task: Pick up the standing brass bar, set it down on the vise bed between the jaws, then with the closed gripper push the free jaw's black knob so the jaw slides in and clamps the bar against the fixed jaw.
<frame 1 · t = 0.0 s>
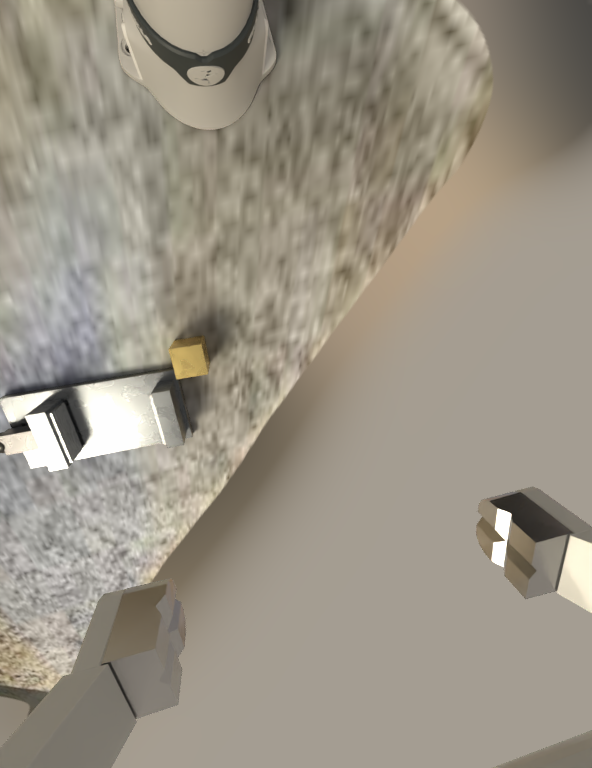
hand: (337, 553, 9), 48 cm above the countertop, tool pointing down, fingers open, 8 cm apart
vise: (121, 412, 55), on the countertop
jaw: (29, 439, 49), point 4 cm above the countertop, slide at 0.0 cm
block: (192, 351, 54), on the countertop
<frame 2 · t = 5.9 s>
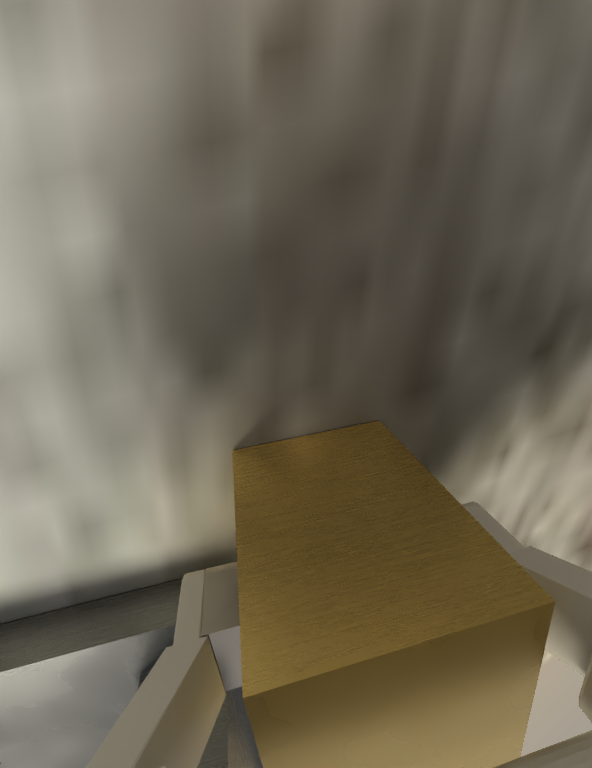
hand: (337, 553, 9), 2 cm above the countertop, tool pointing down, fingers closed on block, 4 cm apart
block: (315, 496, 11), on the countertop, touching gripper
when the fingers open (5 cm above the countertop, at t = 10.7 s): block stays where it is, resting on vise.
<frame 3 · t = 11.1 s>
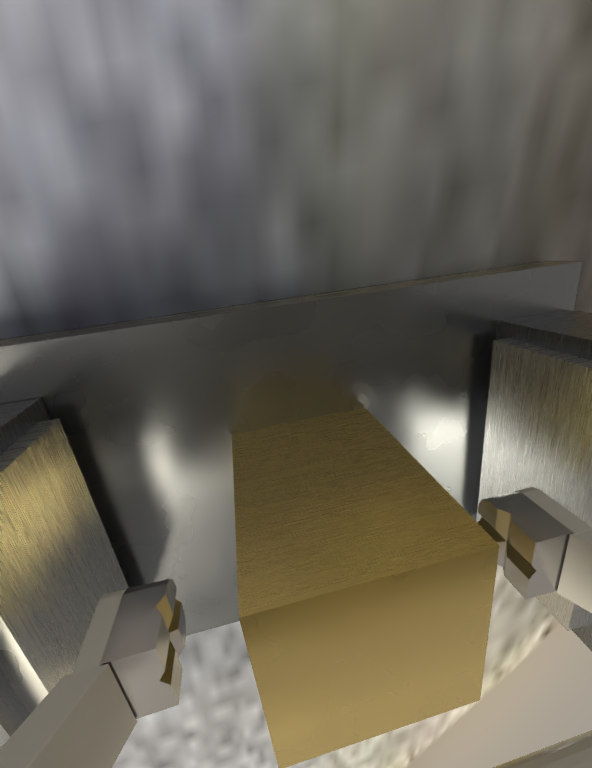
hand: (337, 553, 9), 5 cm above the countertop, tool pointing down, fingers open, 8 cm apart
vise: (298, 455, 13), on the countertop
block: (307, 477, 12), point 1 cm above the countertop, touching vise
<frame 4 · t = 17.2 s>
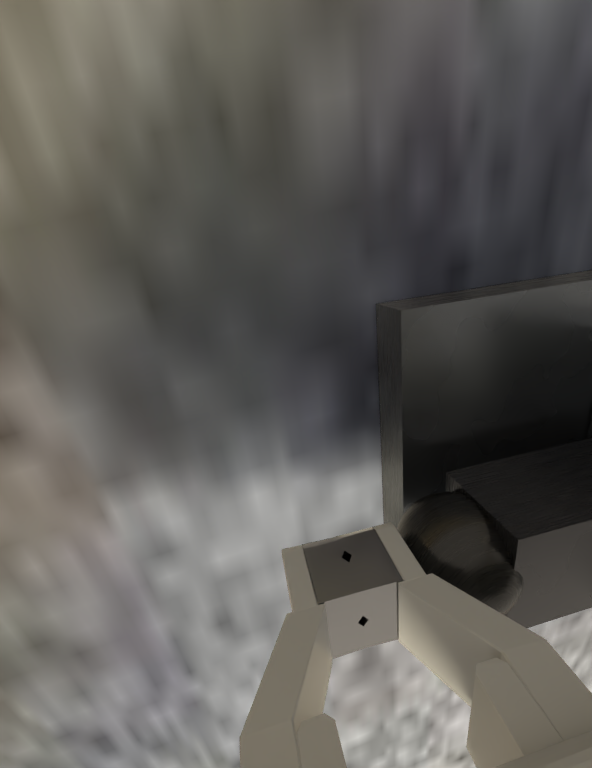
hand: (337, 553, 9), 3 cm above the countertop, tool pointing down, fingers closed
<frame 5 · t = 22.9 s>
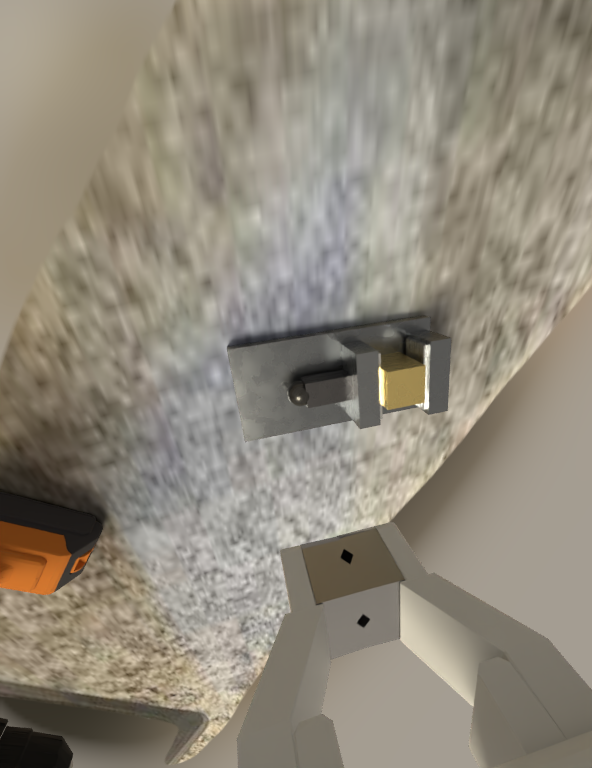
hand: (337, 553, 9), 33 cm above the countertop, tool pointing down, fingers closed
vise: (351, 372, 44), on the countertop
jaw: (332, 389, 40), point 4 cm above the countertop, slide at 7.9 cm, touching block
block: (382, 371, 43), point 1 cm above the countertop, touching jaw, vise
power drill: (61, 528, 43), on the countertop
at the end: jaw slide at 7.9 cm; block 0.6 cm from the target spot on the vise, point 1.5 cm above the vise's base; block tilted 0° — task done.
